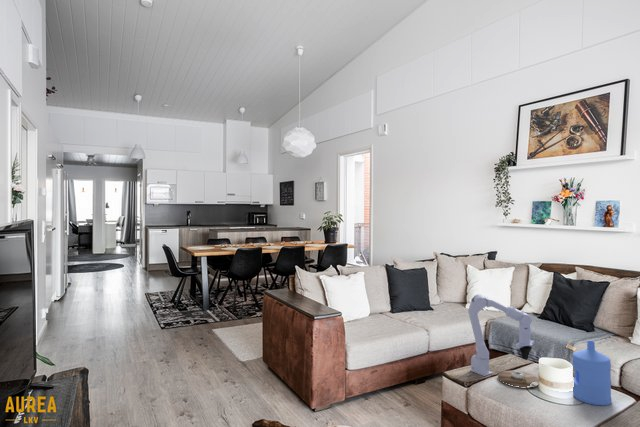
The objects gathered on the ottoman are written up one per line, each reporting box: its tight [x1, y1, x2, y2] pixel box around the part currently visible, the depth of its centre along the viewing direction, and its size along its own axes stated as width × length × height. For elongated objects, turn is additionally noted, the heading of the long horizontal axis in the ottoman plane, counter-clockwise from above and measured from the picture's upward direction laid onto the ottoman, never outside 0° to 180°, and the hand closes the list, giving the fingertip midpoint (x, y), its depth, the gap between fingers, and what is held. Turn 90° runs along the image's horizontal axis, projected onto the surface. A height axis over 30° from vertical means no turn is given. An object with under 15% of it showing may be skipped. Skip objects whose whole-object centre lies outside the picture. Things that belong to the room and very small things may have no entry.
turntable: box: [497, 370, 539, 387], centre depth 220 cm, size 20×20×4 cm
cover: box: [511, 370, 526, 380], centre depth 220 cm, size 7×7×3 cm
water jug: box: [572, 340, 612, 406], centre depth 198 cm, size 16×16×28 cm
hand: (525, 359), depth 227 cm, fingers closed
